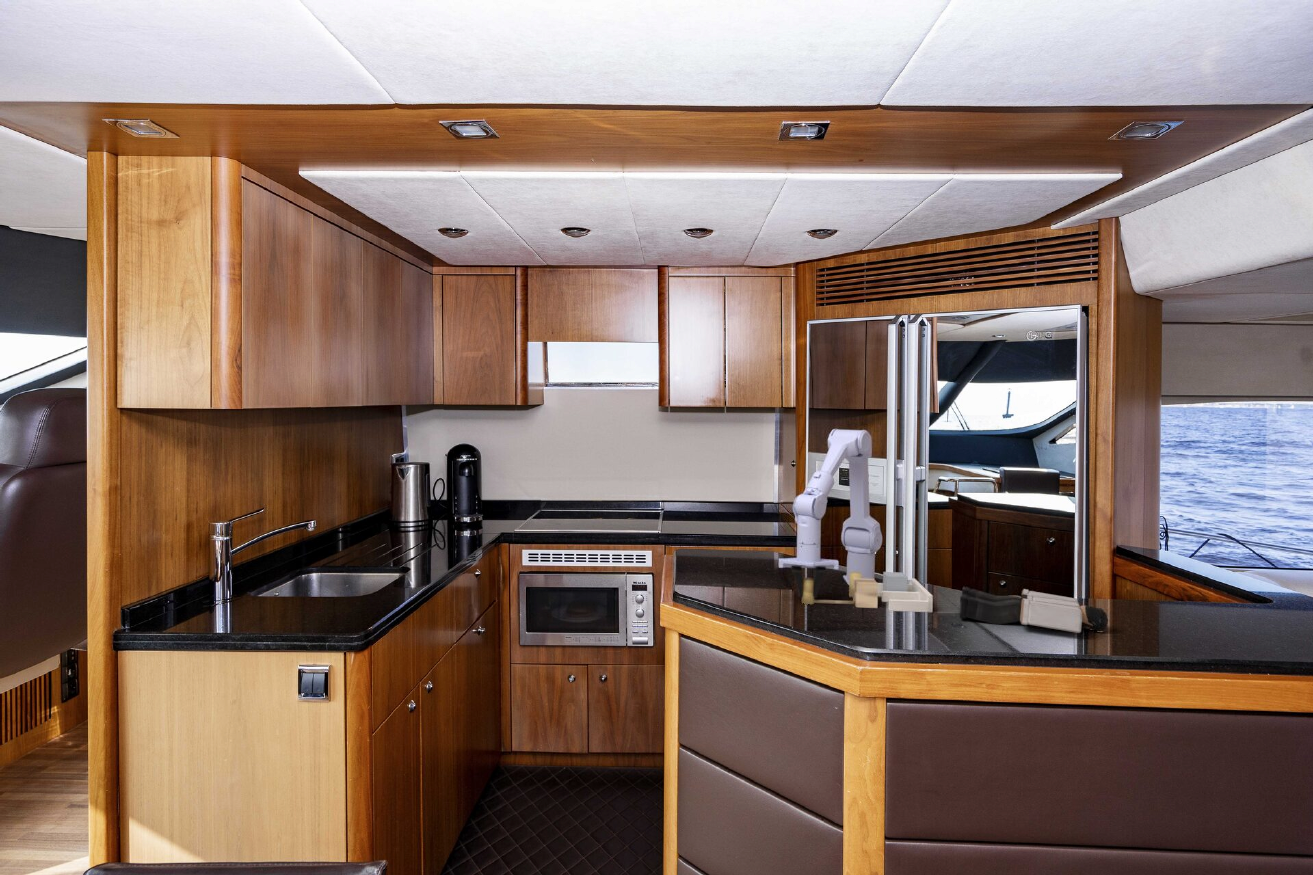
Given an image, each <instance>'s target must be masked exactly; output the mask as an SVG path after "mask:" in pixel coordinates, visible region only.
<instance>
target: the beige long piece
mask: <svg viewBox="0 0 1313 875" xmlns="http://www.w3.org/2000/svg"><path fill="white" fill-rule="evenodd" d="M878 583H879V582H877V581H876V580H875V578H874V579H861V578H854V586H853V597H852V598H853V599H852V600H833V599H815V598H814V577H813V578H812V577H802V597H801V604H803V603H804V604H803V605H808V604H810V605H814V604H836V605H838V604H839V605H841V604H842V605H854V606H855V607H856V608H869V609H878V598H879V597H878V594H879V593H878Z"/></svg>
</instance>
